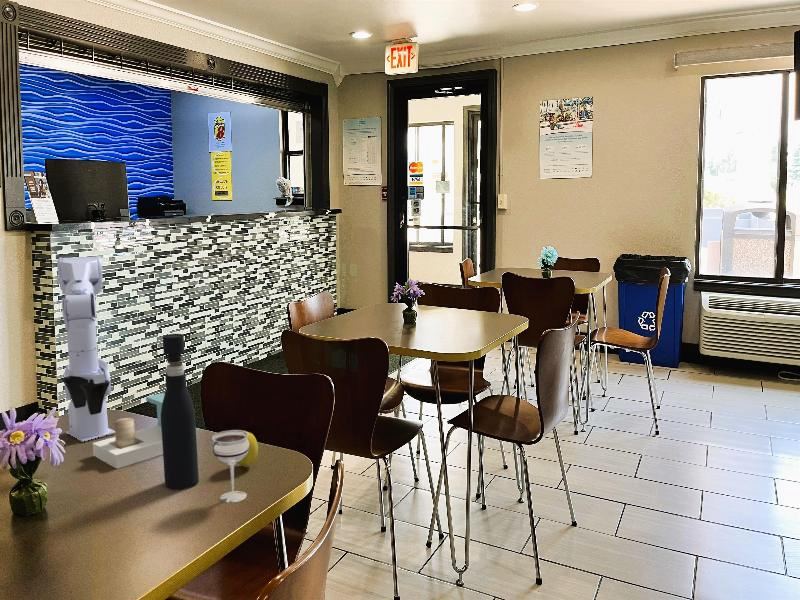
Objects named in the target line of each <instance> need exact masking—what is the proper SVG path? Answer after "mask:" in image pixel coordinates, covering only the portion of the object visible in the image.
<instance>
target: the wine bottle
mask: <svg viewBox="0 0 800 600" xmlns="http://www.w3.org/2000/svg"><path fill="white" fill-rule="evenodd" d="M162 347H163V348H162V349H163V354H165V355H167V365H166V367H165V368H166V369H165V370H166V374H165V393H164V394H165V395H164V399H163V402H162V408H161V430H162V445H163V455H162V456H163V457H162V459H163V471H164V473H163V474H164V475H163V476H164V486H165V487H166V488H167V489H168V490H173V491H180V490H181V491H182V490H187V489H190V488H192V487H195V486H197V484H199V481H200V477H199V461H198V459H199V457H198V443H197V441H198V440H197V423H196V410H195V406H194V402H193V399H192V397H191V394H190V391H189V389H188V387H187V374H186V373H185V369H184V368H185V366H184V364H183V363H182V361H183V359H182V354H183V353H184V352H186V351H185V350H186V349H185V336H184V334H182V333H169V334H166V335H162Z"/></svg>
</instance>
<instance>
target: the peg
mask: <svg viewBox="0 0 800 600" xmlns="http://www.w3.org/2000/svg"><path fill="white" fill-rule="evenodd" d="M114 431H115V433H114V434H115V436H114V437H115V438H116V447H117V448H119V449H123V448H126V447H129V446H133V445H136V441H135V431H136V429H135V419H134V418H132V417H131V418H130V417H124V418H119V419H117V420H116V419H115V421H114Z"/></svg>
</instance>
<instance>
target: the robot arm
mask: <svg viewBox="0 0 800 600" xmlns="http://www.w3.org/2000/svg"><path fill="white" fill-rule="evenodd" d="M56 265H57V276H58V281H59V286H60V287H59V288H60V290H61V293H62V295H64V297H62V298H61V312H62V319H63V322H64V329H65V331H66V341H67V342H66V343H67V353H68V364H67V365H65V369H64V373H63V375H64V377H61V381H62V382H63V385H64V392H65V399H67V400H69V401H70V402H69V404H68V407H67V408H68V409H67V411H68V422H69V430H67V431H65V433H66V435H68V434H70V435H71V437H72V436H73V437H72V438H74V437H75V439H76V438H77V439H76V440H78V441H79V442H82V443H83V442H84V441H85V442H88V440H89V441H92V440H96V439H99V438H103V437H107V436H111V435H114V434H115V429H114V430H113V429H112V428H109V422H108V420H109V419H108V410H107V407H108V406H107V396H110V394H111V393H112V386H111V375H110V374H111V373H110V367H109V364H108V362H106V361H104V360H103V359H101V358H99V355H98V353H99V352H98V342H97V340H98V339H97V327H96V325H97V324H96V320H97V316H98V314H97V313H98V312H97V311H98V310H97V300H96V295H98V294H100V293H101V292H102V290H103V287H104V286H103V278H104V276H103V265H102V258H101V257H100V256H99V255H96V256H82V257H81V256H80V257H79V256H77V257H59V258H58V259H57V262H56ZM70 435H69V436H70ZM106 435H107V436H106ZM98 437H99V438H98ZM95 438H96V439H95ZM91 439H92V440H91ZM85 442H84V443H85Z"/></svg>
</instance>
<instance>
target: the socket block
mask: <svg viewBox="0 0 800 600" xmlns="http://www.w3.org/2000/svg"><path fill="white" fill-rule="evenodd" d="M164 395H165V393H163V392H161V393H156V394H152V395H147V396H145V402H148V403H151V404H153V405H156V417H157V425H153V426H149V427H148V426H147V427H146V428H141V429H138V430H135V441H136V445H133V446H129V447H126V448H123V449H119V448H117V447H116V438H115V436H114V437H109V438H106V439H103V440H98V441H95V442H92V453H93V455H92V456H93V457H94V456H96V457H97V459H98V458H99V460H100V461H102V462H104V463H105V462H106V463H105V464H107V465H109V466H110V467H113V468H115V469H116V470H118V469H121V468H124V467H127V466H130V465H133V464H136V463H137V464H138V463H140V462H144V461H146V460H149V459H153V458H156V457H158V456H163V445H162V430H161V408H162V402H163V399H164ZM96 457H95V458H96Z"/></svg>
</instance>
